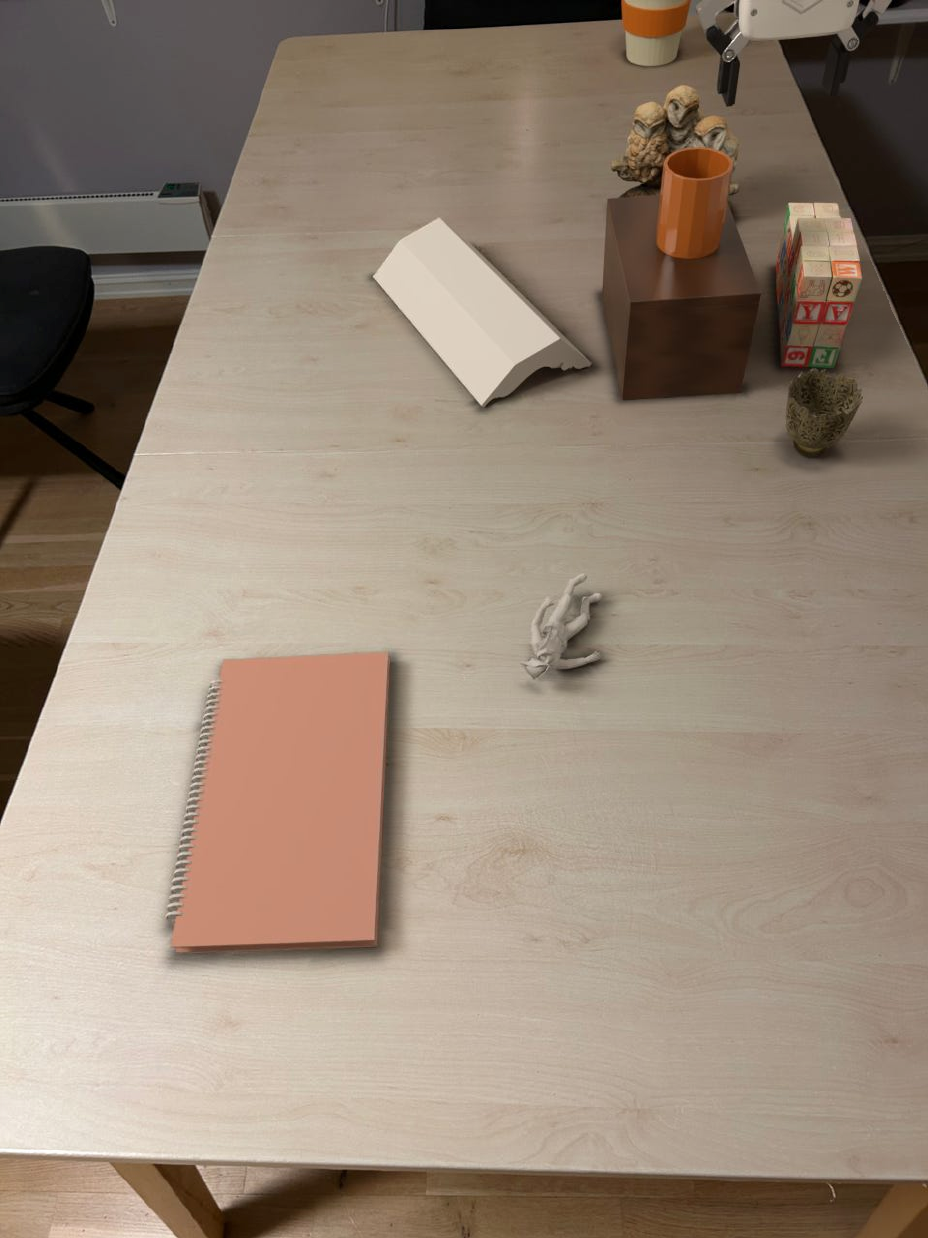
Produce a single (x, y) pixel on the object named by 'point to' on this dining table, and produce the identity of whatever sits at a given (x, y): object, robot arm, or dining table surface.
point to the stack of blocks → (815, 283)
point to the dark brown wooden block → (675, 307)
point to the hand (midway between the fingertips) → (778, 95)
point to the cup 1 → (693, 202)
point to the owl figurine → (671, 140)
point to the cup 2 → (820, 410)
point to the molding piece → (471, 313)
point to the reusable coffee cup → (653, 29)
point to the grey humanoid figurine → (558, 632)
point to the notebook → (287, 807)
